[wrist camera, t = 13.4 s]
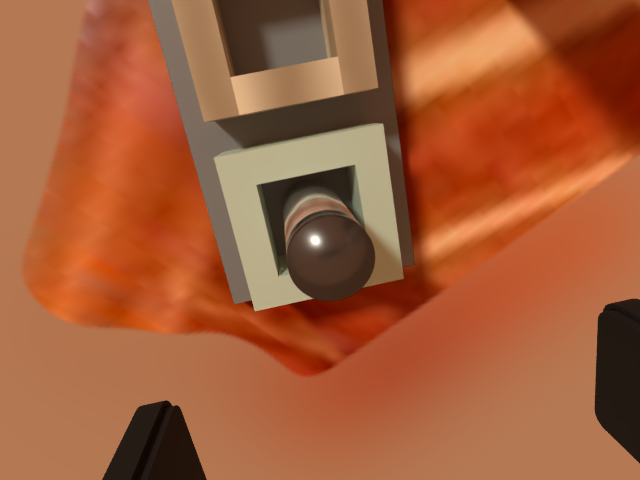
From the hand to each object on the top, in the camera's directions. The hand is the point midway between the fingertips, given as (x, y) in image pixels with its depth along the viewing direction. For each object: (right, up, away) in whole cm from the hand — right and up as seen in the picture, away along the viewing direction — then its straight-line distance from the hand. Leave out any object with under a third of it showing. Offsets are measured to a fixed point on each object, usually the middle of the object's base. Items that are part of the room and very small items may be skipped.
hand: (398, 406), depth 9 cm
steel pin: (-2, +6, +20) cm, 21 cm away
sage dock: (-2, +6, +20) cm, 21 cm away
